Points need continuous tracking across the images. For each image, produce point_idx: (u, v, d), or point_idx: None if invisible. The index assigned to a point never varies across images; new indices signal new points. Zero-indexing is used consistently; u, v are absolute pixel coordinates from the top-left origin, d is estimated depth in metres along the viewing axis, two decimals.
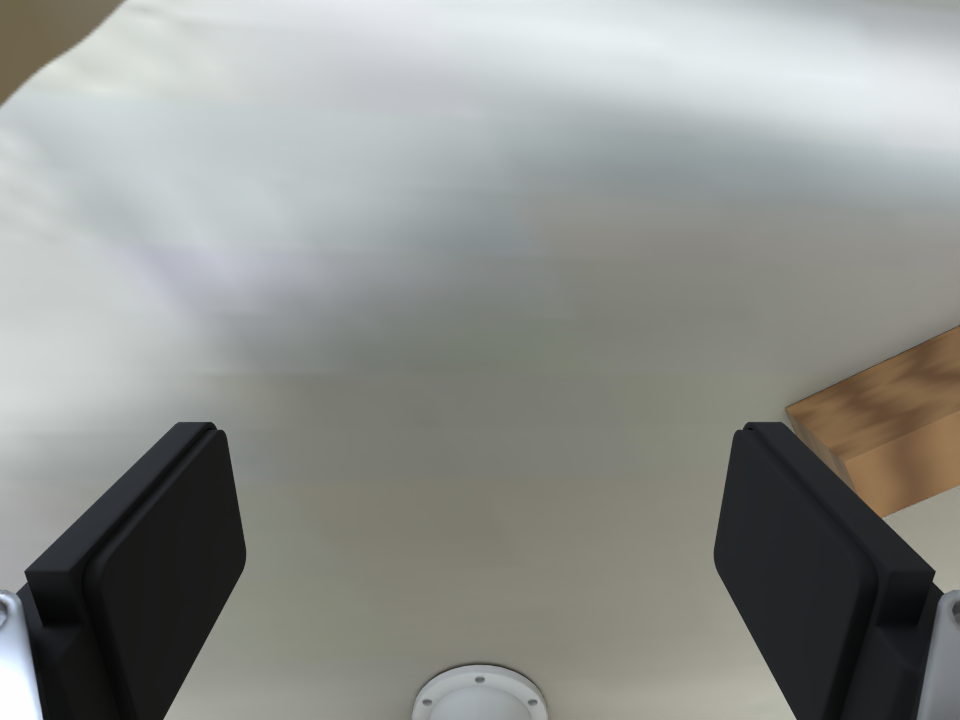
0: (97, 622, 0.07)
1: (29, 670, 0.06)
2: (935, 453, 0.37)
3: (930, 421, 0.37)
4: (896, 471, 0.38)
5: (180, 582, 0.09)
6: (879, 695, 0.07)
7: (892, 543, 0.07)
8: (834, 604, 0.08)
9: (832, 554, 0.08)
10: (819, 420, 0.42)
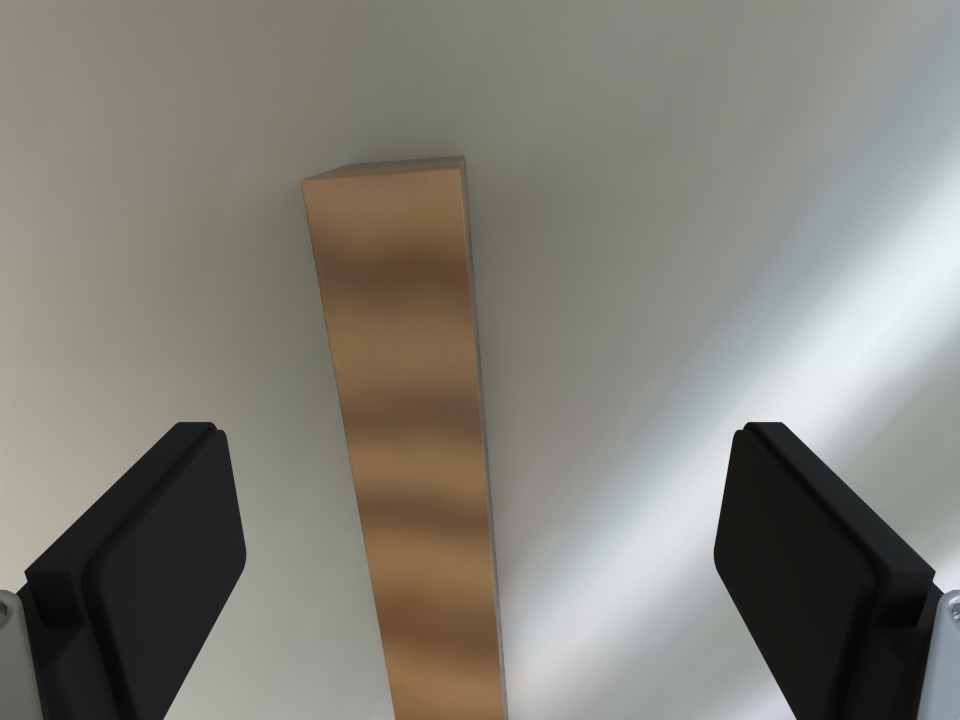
0: (97, 622, 0.07)
1: (30, 670, 0.06)
2: (410, 320, 0.22)
3: (472, 325, 0.22)
4: (401, 253, 0.21)
5: (180, 582, 0.09)
6: (879, 695, 0.07)
7: (892, 543, 0.07)
8: (834, 604, 0.08)
9: (832, 554, 0.08)
10: None
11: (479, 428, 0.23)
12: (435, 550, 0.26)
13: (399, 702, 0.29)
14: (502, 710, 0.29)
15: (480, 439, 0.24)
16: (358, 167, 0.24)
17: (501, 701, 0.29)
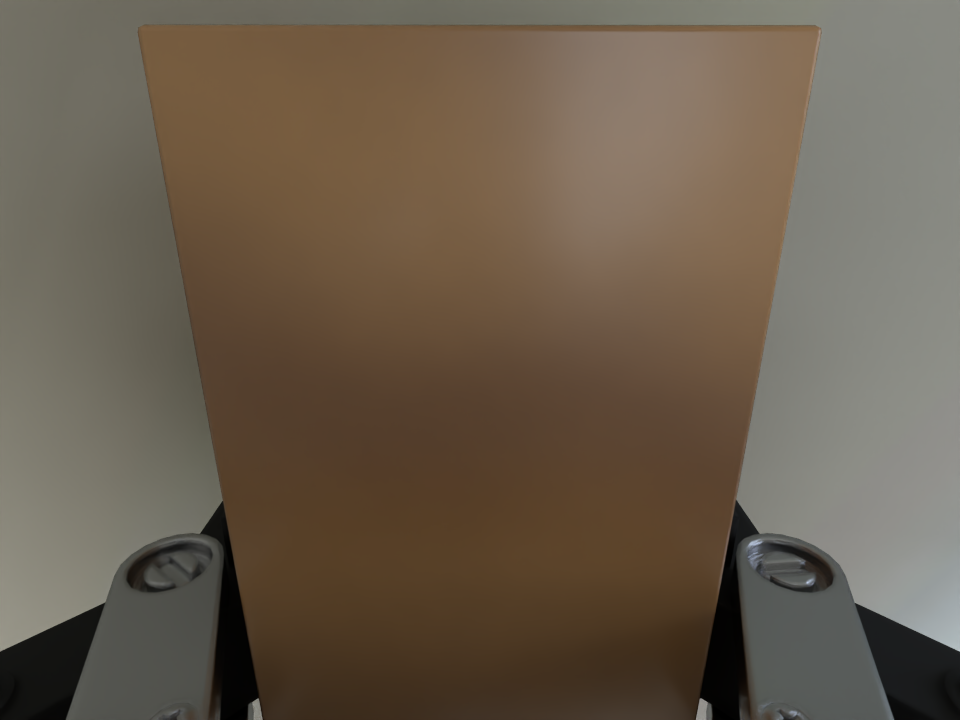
0: None
1: (214, 622, 0.06)
2: (518, 565, 0.06)
3: (714, 584, 0.07)
4: (523, 350, 0.06)
5: None
6: None
7: None
8: None
9: None
10: None
11: None
12: None
13: None
14: None
15: None
16: None
17: None
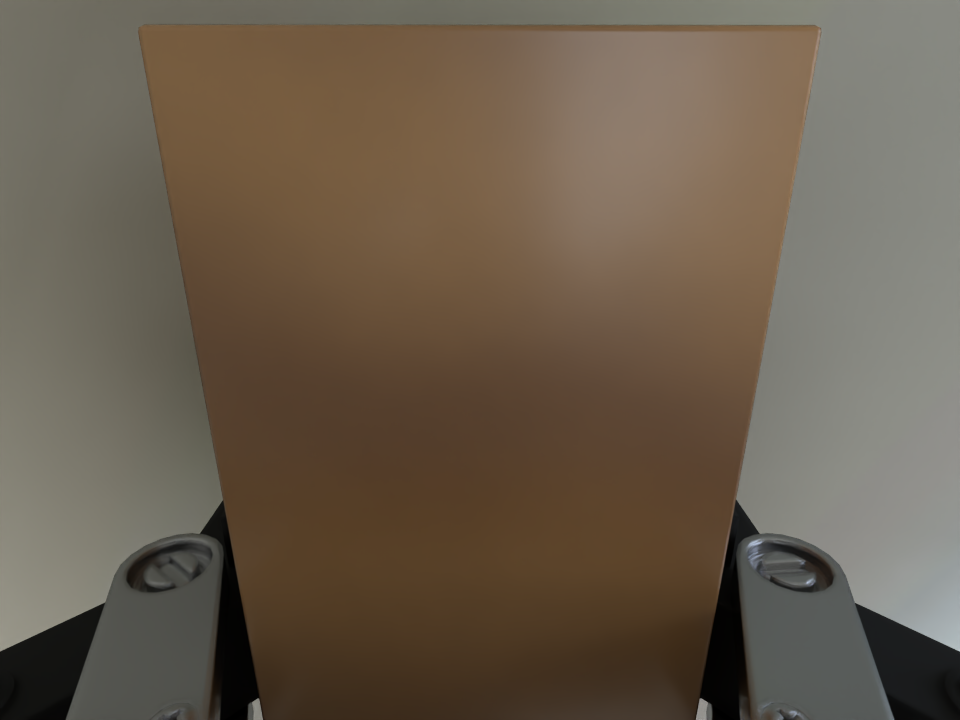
0: None
1: (213, 622, 0.06)
2: (519, 563, 0.06)
3: (715, 584, 0.07)
4: (523, 350, 0.06)
5: None
6: None
7: None
8: None
9: None
10: None
11: None
12: None
13: None
14: None
15: None
16: None
17: None
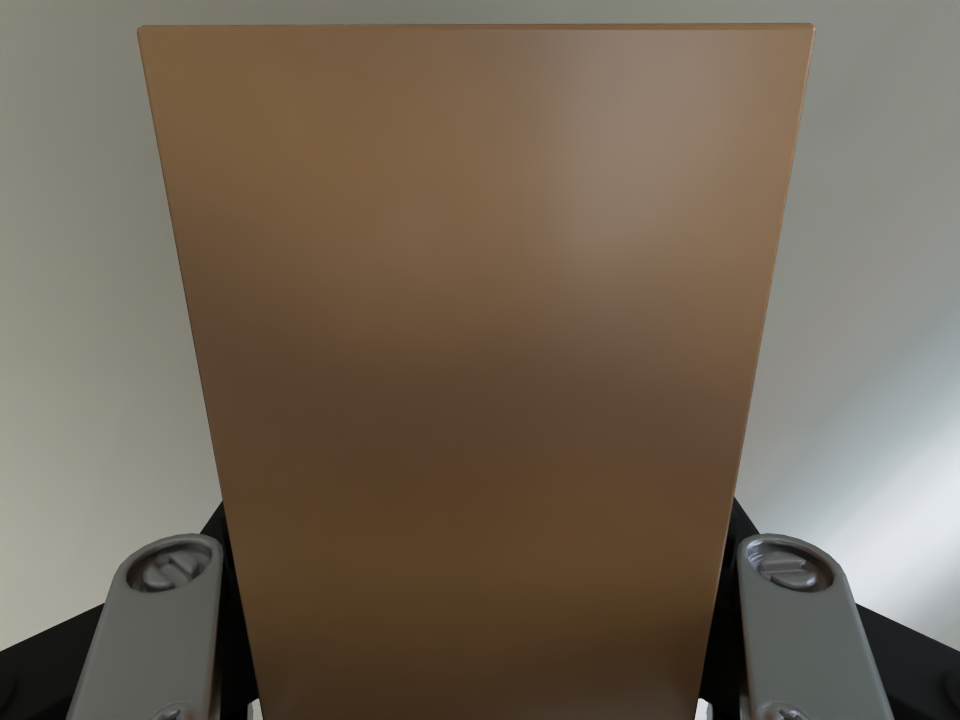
0: None
1: (213, 622, 0.06)
2: (517, 562, 0.06)
3: (713, 584, 0.07)
4: (519, 348, 0.06)
5: None
6: None
7: None
8: None
9: None
10: None
11: None
12: None
13: None
14: None
15: None
16: None
17: None
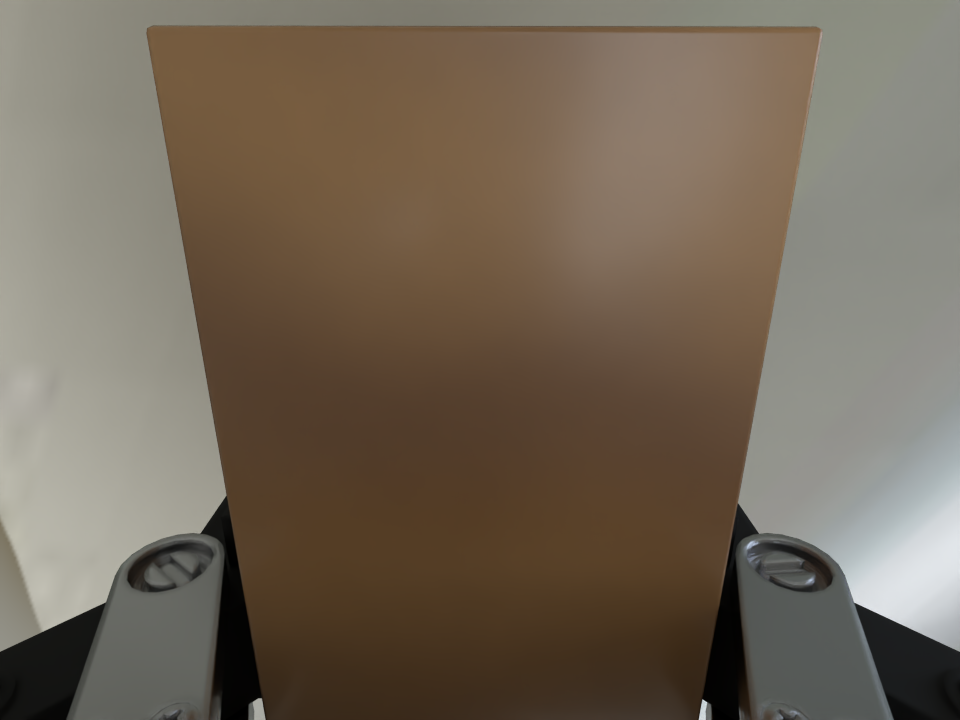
0: None
1: (214, 622, 0.06)
2: (522, 563, 0.06)
3: (717, 584, 0.07)
4: (527, 350, 0.06)
5: None
6: None
7: None
8: None
9: None
10: None
11: None
12: None
13: None
14: None
15: None
16: None
17: None
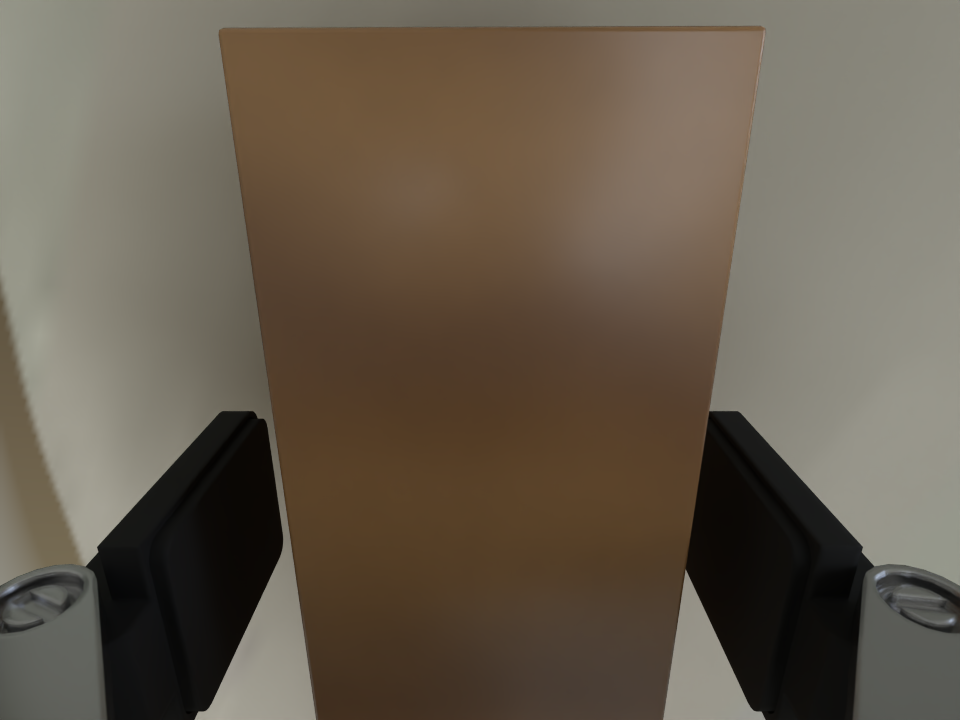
0: (162, 596, 0.08)
1: (97, 647, 0.06)
2: (524, 484, 0.08)
3: (690, 503, 0.08)
4: (527, 296, 0.07)
5: (229, 563, 0.09)
6: (811, 665, 0.07)
7: (825, 522, 0.08)
8: (773, 581, 0.08)
9: (771, 533, 0.08)
10: None
11: None
12: None
13: None
14: None
15: None
16: None
17: None
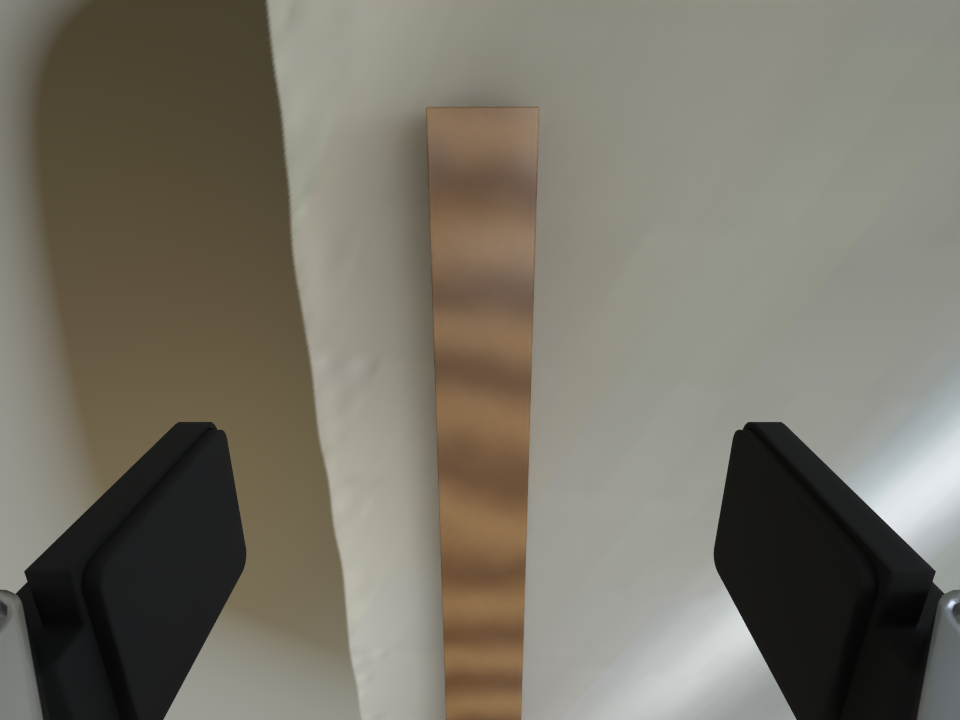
0: (97, 622, 0.07)
1: (29, 670, 0.06)
2: (491, 218, 0.30)
3: (535, 226, 0.30)
4: (491, 166, 0.29)
5: (180, 582, 0.09)
6: (879, 695, 0.07)
7: (892, 543, 0.07)
8: (834, 604, 0.08)
9: (832, 554, 0.08)
10: None
11: (532, 306, 0.32)
12: (488, 404, 0.34)
13: (445, 534, 0.37)
14: (525, 546, 0.37)
15: (532, 315, 0.32)
16: None
17: (525, 538, 0.37)
